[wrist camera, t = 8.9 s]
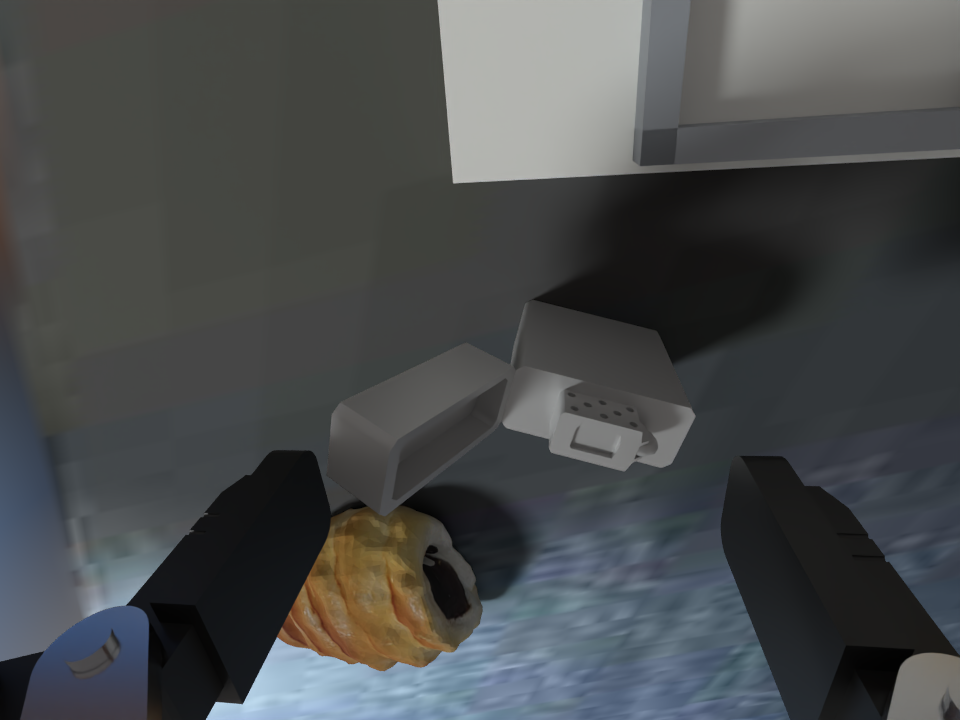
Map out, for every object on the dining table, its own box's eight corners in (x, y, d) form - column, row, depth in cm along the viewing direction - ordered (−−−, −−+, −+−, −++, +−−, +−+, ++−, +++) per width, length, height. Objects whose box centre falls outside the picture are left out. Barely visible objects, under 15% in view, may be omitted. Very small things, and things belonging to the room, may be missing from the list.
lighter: (662, 332, 15) (758, 539, 8) (641, 381, 16) (711, 609, 9) (430, 273, 15) (318, 425, 8) (421, 325, 16) (313, 504, 9)
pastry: (320, 629, 24) (281, 714, 21) (238, 528, 22) (179, 605, 18) (498, 596, 21) (486, 688, 18) (426, 475, 19) (397, 555, 16)
